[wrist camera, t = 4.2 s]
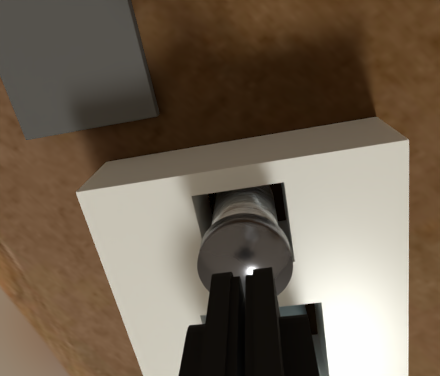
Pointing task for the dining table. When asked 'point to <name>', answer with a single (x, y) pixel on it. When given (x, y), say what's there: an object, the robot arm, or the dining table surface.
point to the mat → (73, 65)
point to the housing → (292, 227)
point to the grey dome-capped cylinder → (245, 238)
